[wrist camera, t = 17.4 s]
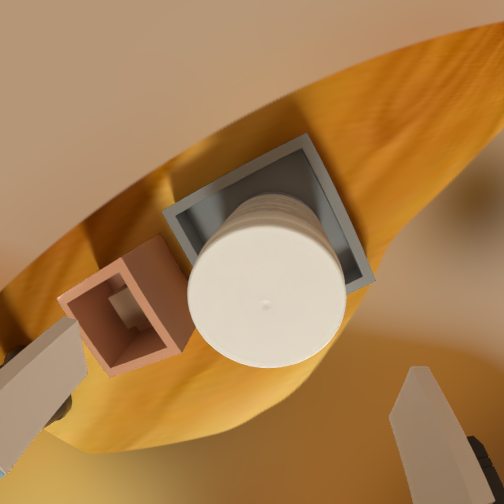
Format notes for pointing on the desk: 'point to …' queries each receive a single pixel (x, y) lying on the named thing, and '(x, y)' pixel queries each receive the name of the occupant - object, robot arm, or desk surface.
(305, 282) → the supplement tub
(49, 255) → the desk surface
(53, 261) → the desk surface
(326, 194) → the gray tray
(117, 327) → the terracotta bin
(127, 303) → the walnut block
